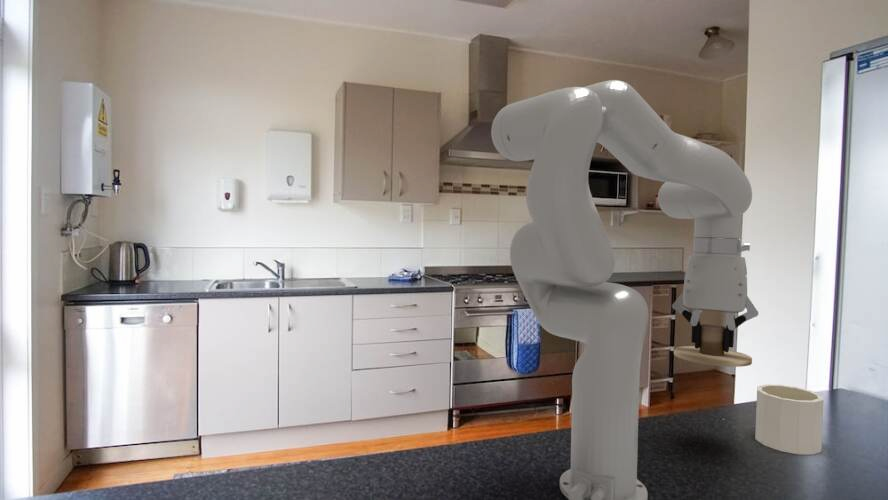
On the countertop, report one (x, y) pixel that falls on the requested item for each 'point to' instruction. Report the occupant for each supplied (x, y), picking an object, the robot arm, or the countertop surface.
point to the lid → (712, 349)
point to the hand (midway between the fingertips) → (711, 348)
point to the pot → (789, 419)
